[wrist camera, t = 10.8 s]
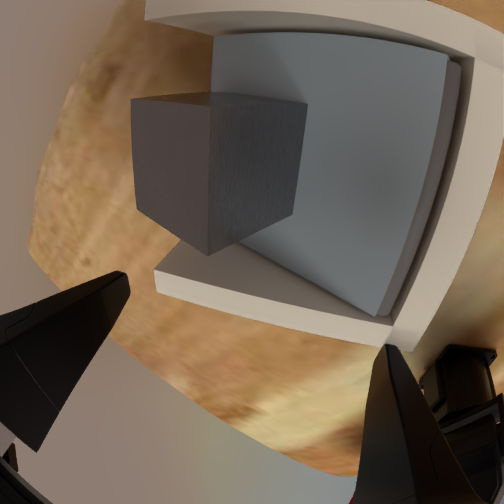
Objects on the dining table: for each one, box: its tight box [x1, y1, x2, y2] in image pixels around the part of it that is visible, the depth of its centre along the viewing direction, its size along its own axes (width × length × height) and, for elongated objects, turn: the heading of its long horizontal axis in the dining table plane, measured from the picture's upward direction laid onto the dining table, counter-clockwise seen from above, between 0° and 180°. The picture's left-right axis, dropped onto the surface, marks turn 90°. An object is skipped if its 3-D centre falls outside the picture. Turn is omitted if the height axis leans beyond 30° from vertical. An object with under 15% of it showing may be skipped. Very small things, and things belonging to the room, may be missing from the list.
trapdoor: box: [210, 32, 462, 317], centre depth 13 cm, size 12×11×1 cm
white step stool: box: [144, 0, 504, 353], centre depth 13 cm, size 14×15×8 cm
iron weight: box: [131, 92, 308, 257], centre depth 12 cm, size 5×5×5 cm
